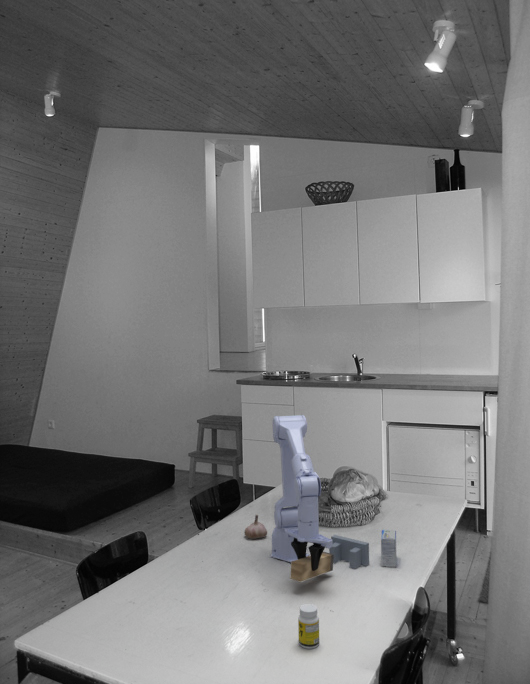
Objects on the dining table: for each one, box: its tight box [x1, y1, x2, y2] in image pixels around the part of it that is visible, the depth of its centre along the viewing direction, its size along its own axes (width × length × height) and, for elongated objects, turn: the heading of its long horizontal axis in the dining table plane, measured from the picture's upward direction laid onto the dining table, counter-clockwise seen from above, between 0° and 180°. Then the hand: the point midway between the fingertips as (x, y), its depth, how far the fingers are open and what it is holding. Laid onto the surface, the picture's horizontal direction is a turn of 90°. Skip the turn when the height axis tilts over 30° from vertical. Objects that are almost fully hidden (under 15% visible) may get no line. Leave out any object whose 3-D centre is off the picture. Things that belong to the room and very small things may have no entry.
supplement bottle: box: [297, 603, 320, 649], centre depth 143 cm, size 5×5×8 cm
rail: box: [289, 551, 334, 583], centre depth 174 cm, size 16×4×4 cm, turn 142°
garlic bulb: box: [243, 513, 268, 540], centre depth 211 cm, size 8×7×8 cm
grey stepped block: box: [328, 534, 370, 570], centre depth 189 cm, size 12×6×6 cm, turn 52°
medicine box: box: [380, 529, 398, 568], centre depth 188 cm, size 8×4×9 cm, turn 168°
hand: (308, 567), depth 173 cm, fingers closed on rail, 3 cm apart
